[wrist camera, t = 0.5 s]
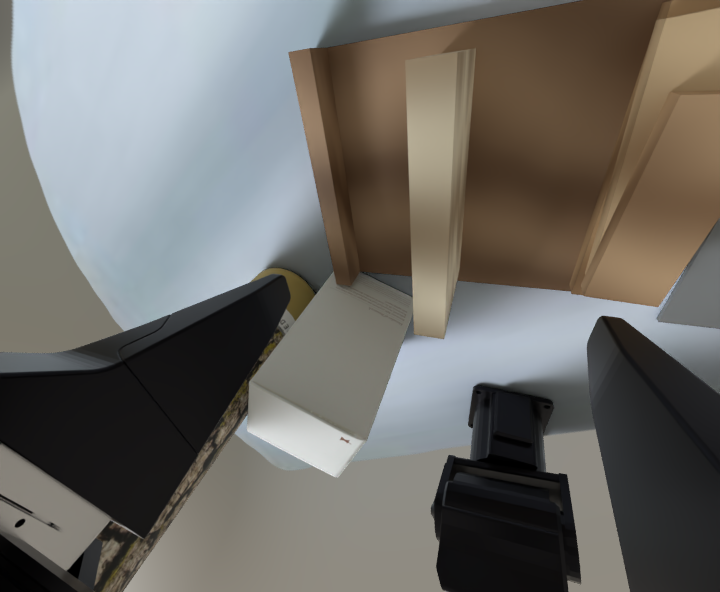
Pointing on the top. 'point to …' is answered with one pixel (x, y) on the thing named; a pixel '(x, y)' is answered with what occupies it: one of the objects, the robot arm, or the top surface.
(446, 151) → the birch panel
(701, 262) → the mat
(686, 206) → the offcut stack
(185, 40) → the top surface
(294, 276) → the log
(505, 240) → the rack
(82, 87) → the top surface
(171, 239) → the top surface
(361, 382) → the supplement box
